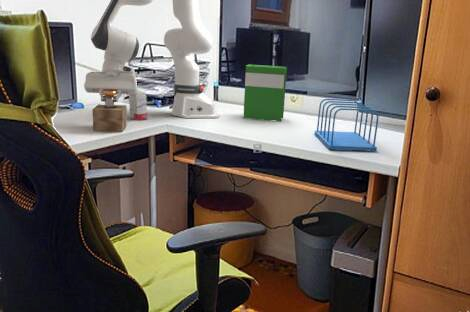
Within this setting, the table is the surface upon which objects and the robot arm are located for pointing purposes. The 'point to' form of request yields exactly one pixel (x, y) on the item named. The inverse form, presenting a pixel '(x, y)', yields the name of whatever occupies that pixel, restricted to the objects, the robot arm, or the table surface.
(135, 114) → the ink box
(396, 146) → the table surface
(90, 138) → the table surface
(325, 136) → the file sorter
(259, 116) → the green cereal box
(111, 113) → the block
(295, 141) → the table surface
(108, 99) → the pin
